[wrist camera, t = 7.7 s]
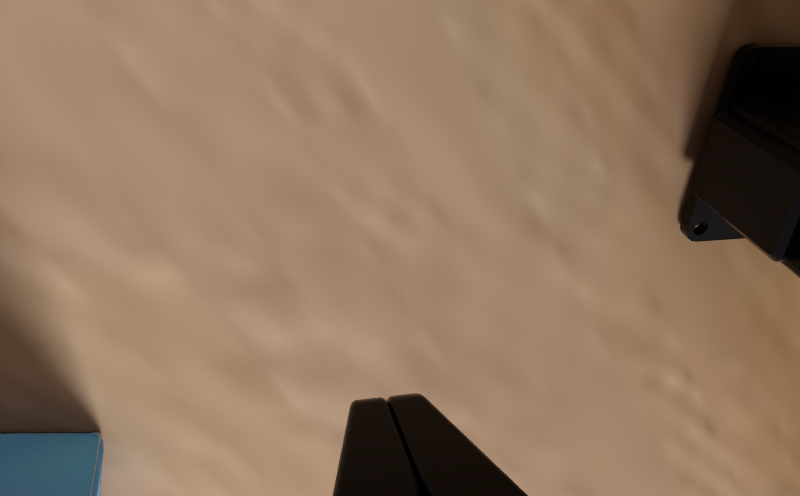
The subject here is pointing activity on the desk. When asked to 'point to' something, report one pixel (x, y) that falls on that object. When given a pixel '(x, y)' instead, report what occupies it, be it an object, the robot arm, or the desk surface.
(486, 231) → the desk surface
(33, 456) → the ink box
